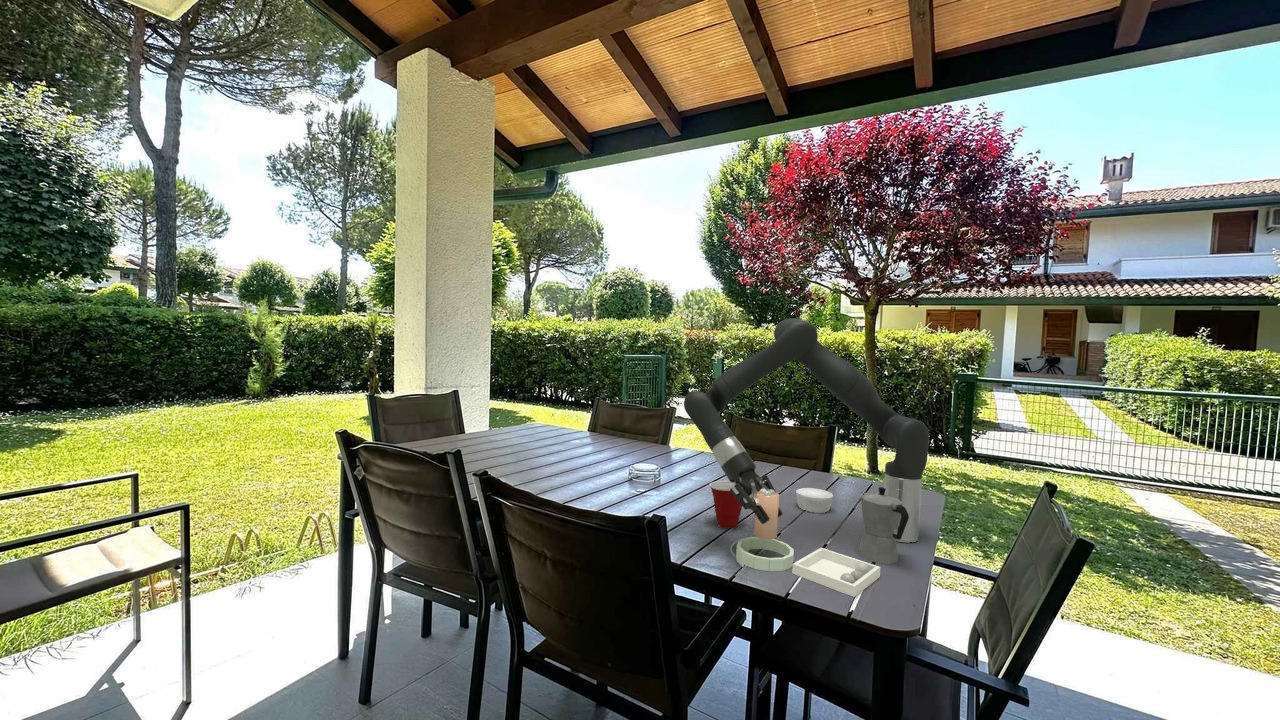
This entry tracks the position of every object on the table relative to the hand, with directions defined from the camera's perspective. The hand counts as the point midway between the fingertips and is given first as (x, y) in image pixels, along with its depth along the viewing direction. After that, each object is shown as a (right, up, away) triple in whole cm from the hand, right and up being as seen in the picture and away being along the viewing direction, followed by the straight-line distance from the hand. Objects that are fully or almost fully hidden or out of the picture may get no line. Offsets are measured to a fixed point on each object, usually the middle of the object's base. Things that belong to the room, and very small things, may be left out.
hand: (772, 518), depth 123 cm
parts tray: (+13, -12, -6) cm, 18 cm away
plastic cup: (-7, -10, +26) cm, 28 cm away
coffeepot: (+28, -12, +5) cm, 31 cm away
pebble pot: (-1, -4, +1) cm, 5 cm away
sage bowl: (-2, -11, +2) cm, 11 cm away
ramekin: (+24, -10, +43) cm, 51 cm away
